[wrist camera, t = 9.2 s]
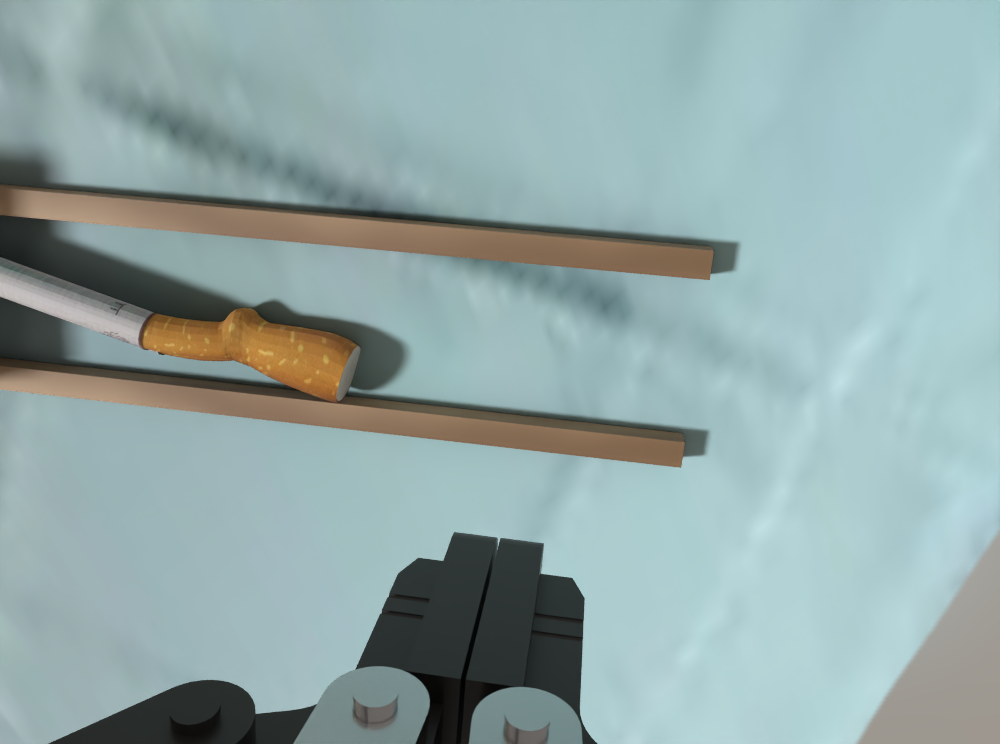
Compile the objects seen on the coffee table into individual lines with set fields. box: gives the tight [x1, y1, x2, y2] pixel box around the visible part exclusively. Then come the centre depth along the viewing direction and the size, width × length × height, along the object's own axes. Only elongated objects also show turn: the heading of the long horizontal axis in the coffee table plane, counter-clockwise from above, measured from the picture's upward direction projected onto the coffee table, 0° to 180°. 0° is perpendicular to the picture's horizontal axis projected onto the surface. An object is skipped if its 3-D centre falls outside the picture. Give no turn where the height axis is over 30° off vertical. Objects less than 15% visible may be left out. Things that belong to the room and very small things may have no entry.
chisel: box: [0, 257, 361, 403], centre depth 31 cm, size 19×3×3 cm
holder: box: [0, 184, 714, 468], centre depth 29 cm, size 8×35×5 cm, turn 86°
